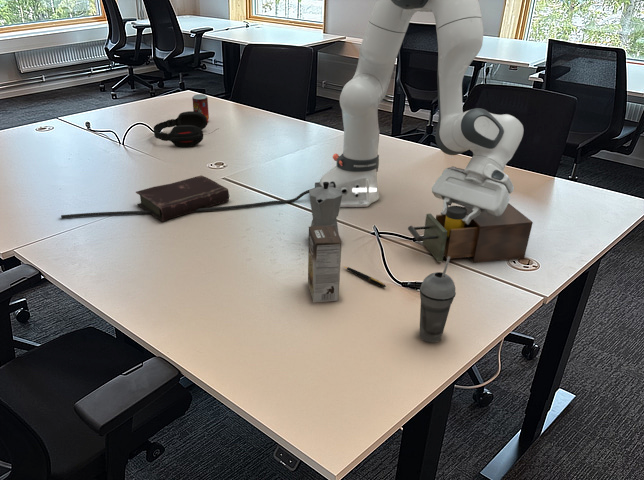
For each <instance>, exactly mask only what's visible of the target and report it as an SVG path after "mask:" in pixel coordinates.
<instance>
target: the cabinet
mask: <svg viewBox="0 0 644 480" xmlns="http://www.w3.org/2000/svg"><path fill="white" fill-rule="evenodd" d="M463 207H464V206H463ZM464 208H466V209H467V214H466V215H467V216H468V215H469V214H470V213H472V212H473V210H472V209H470V208H467V207H464ZM471 221H472V222H473V223H474V224H475V225H476V226H477V227H478V228H479V230H478V235H477V240H476V245H475V251H474V256H473V257H468V258H469V260H470V261H471V262H472V263H473V264H476V263H488V262H489V263H490V262H498V261H510V260H522V259H525V257H526V253H527V248H528V245H529V240H530V235H531V231H532V228H533V224H534V223H533V222H534V221H532V220H531V219H530V218H528V217H527V216H526V215H525V214H524V213H522V212H521V211H520V210H519V209H517V208H516V207H514V206H513V205H512V204H511V203H510V202H509V203H508V205H507V207H506V209H505V211H504V212H503V214H502V215H500V216H498V217H495V216H492V215H489V214H486V213H483V212H481V213H480V215H479V216H477V217H476V218H474V219H472V220H471Z"/></svg>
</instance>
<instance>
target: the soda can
mask: <svg viewBox="0 0 644 480" xmlns="http://www.w3.org/2000/svg"><path fill="white" fill-rule="evenodd" d="M191 100H192V111H195V112H199V113H202V114H203V115H205V116H206V117H207V120H208V121H209V118H210V113H209V101H208V96H207V95H206V94H203V93H200V94H194V95H193V96H192V99H191Z"/></svg>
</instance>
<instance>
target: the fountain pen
mask: <svg viewBox="0 0 644 480" xmlns="http://www.w3.org/2000/svg"><path fill="white" fill-rule="evenodd" d="M344 268H345V270H347V271H349V272H350V273H352V274H354V275H355V276H358V277H359V278H362V279H364V280H366V281H368V282H369V283H371V284H374V285H376V286H378V287H381V288H386V287H387V286H386V284H385V283H383V282H382V281H380V280H378V279H377V278H374V277H372V276H369V275H367V274H365V273H363V272H361V271H359V270H356V269H354V268H352V267H347V266H344Z"/></svg>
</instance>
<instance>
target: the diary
mask: <svg viewBox="0 0 644 480" xmlns="http://www.w3.org/2000/svg"><path fill="white" fill-rule="evenodd" d="M135 194H137V195H139V198H140V199H139V200H140V202H139V203H137V206H138V207H140V208H141V209H142V210H143V211H152V210H153V211H154V213H150V214H149V215H152V216H153V217H155V218H156V219H158V220H159V221H160V222H165V221H168V220H171V219H174V218H178V217H180V216H183V215H187V214H191V213H195V212H194V211H195V210H196V209H199V208H211V207H213V206H216V205H219V204H223V203H228V202H229V201H230V192H229V188H228V187H225V186H223V185H221V184H220V183H218V182H216V181H215V180H213V179H211V178H208V177H206V176H204V175H197V176H194V177H190V178H186V179H183V180H179V181H175V182H171V183H167V184H161V185H155V186H152V187H148V188H144V189H140V190H137V191H135Z"/></svg>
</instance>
